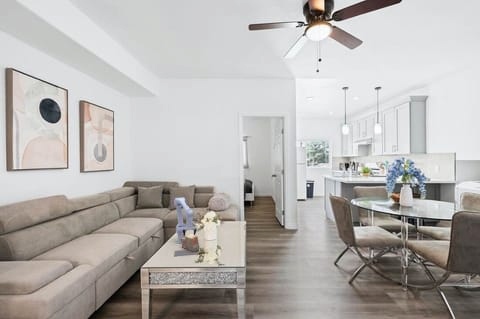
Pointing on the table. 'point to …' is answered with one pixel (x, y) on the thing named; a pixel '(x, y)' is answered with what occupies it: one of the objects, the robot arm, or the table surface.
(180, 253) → the mat
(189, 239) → the stack of blocks
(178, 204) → the robot arm
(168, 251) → the table surface
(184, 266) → the table surface
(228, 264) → the table surface
